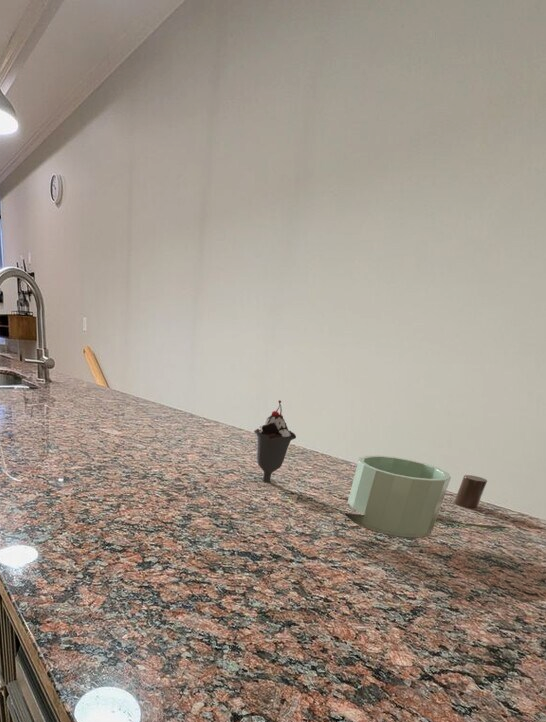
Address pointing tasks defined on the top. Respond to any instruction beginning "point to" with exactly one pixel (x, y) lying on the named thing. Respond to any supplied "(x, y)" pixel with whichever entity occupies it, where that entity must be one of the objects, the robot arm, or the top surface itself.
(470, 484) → the lid
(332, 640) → the top surface
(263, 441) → the sundae
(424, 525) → the canister
